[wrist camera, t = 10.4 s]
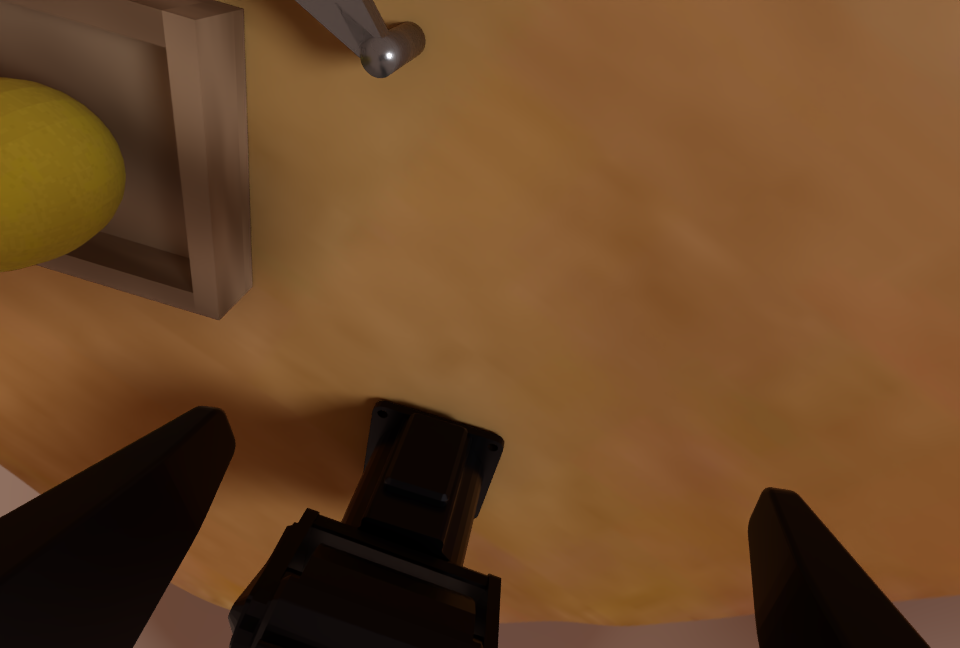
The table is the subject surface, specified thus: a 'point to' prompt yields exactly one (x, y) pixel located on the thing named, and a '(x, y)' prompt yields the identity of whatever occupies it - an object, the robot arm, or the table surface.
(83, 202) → the lemon
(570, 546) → the table surface
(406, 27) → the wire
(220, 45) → the tray
